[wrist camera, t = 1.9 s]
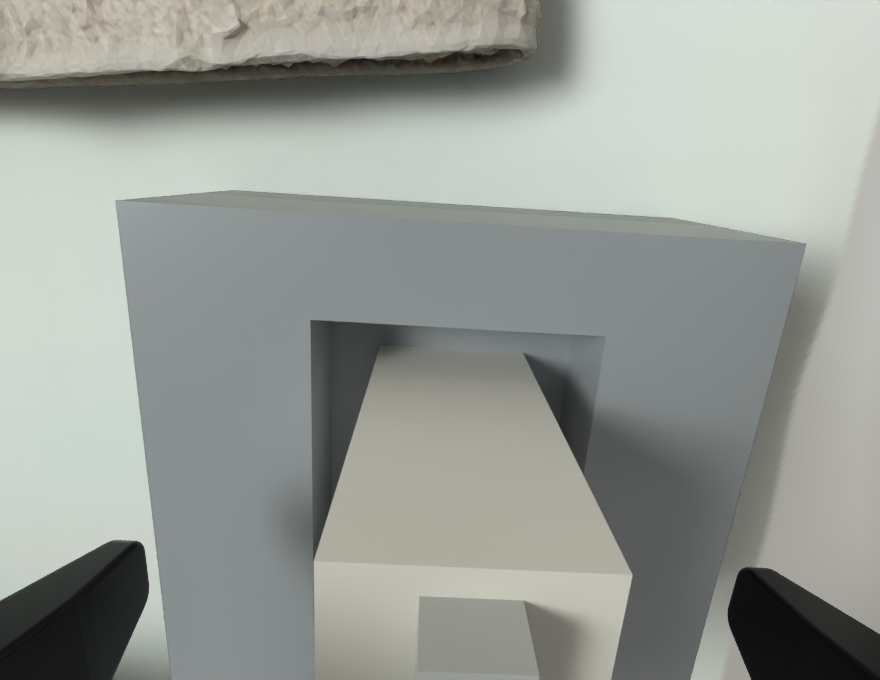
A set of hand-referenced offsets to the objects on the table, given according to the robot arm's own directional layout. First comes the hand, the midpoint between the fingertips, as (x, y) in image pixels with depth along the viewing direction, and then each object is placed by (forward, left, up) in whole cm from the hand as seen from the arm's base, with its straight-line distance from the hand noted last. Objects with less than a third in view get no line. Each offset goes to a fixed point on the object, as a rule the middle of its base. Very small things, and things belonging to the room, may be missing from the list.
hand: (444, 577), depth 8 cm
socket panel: (-3, -4, -7) cm, 9 cm away
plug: (0, 0, -4) cm, 4 cm away
